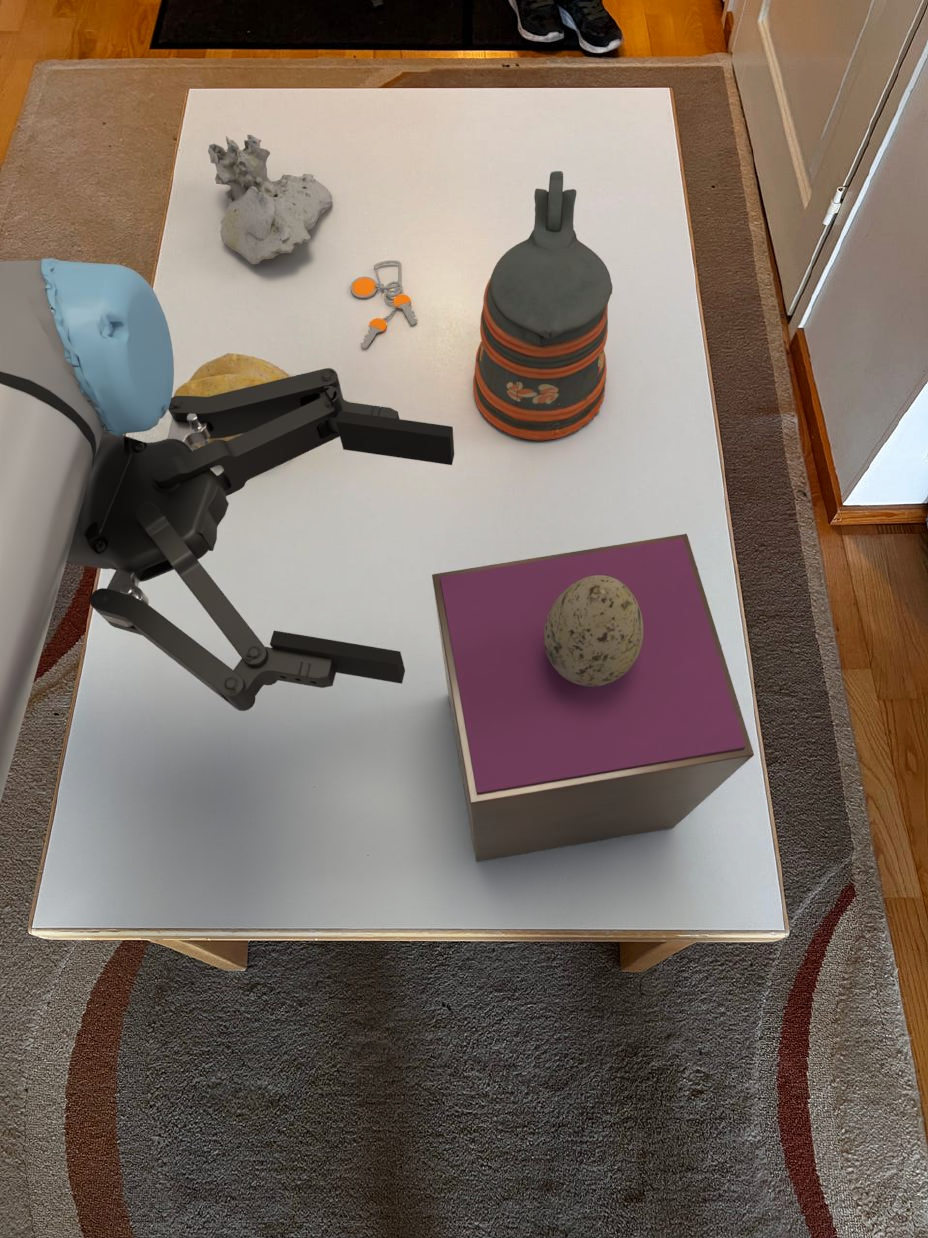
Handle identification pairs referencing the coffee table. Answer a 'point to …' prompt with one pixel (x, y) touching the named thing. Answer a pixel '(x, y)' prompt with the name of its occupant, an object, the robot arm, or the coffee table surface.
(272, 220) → the coral
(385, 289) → the key chain
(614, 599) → the decorative egg
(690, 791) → the plinth
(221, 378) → the tan rounded lump
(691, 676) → the cloth
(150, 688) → the coffee table surface
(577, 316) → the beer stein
